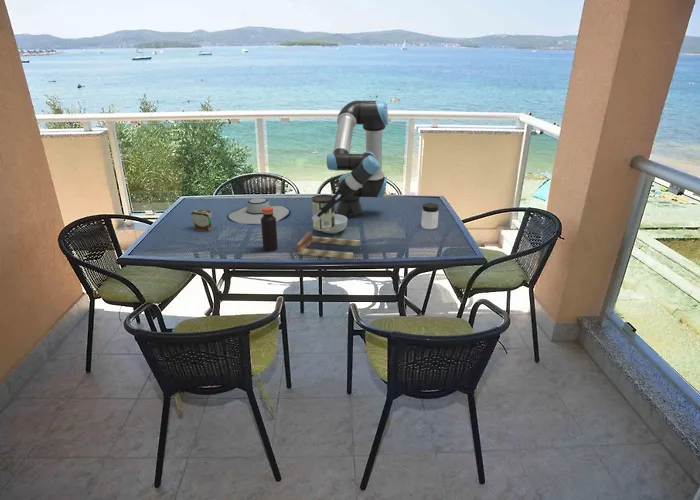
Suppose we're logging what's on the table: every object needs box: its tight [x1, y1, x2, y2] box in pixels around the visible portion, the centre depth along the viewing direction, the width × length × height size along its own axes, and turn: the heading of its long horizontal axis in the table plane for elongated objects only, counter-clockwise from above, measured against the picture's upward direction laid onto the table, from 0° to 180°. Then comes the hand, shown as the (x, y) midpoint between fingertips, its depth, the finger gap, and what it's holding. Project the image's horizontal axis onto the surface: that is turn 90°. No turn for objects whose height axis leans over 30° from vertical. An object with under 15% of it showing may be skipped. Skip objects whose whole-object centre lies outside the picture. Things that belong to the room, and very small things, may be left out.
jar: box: [420, 202, 439, 230], centre depth 237 cm, size 9×8×12 cm
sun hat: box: [226, 197, 292, 226], centre depth 258 cm, size 36×36×9 cm
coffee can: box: [311, 194, 335, 232], centre depth 204 cm, size 10×10×14 cm
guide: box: [296, 230, 361, 260], centre depth 210 cm, size 26×17×5 cm, turn 78°
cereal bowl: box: [322, 213, 348, 235], centre depth 232 cm, size 17×17×7 cm
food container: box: [190, 208, 213, 233], centre depth 236 cm, size 12×6×10 cm, turn 65°
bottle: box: [261, 207, 279, 252], centre depth 209 cm, size 7×7×20 cm
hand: (317, 216), depth 206 cm, fingers closed on coffee can, 10 cm apart
